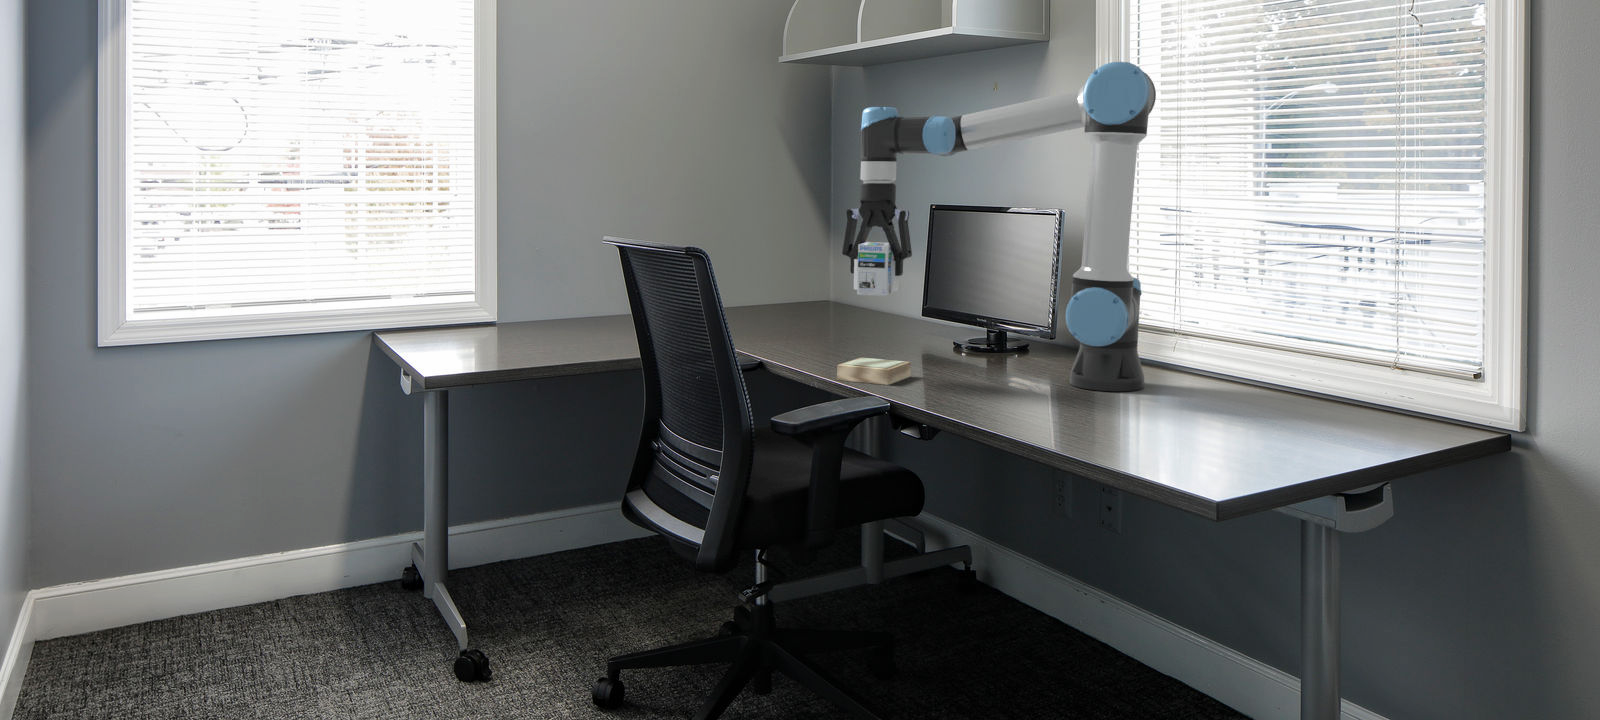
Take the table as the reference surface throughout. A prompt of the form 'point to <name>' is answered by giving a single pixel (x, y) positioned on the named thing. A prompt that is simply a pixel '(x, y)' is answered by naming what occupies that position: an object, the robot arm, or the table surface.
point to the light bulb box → (874, 268)
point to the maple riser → (874, 371)
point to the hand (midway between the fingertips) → (876, 289)
